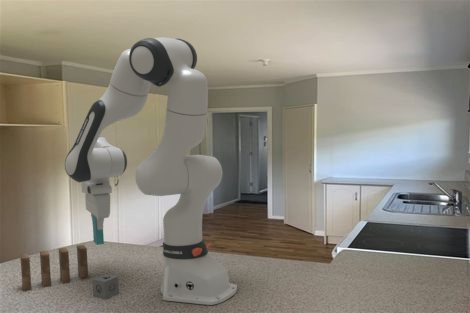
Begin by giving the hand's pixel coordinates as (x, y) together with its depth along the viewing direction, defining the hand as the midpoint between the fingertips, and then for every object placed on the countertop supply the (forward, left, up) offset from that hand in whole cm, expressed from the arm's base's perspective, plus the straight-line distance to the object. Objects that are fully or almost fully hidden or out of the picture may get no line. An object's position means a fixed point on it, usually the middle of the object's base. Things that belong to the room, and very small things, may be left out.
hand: (97, 227), depth 136 cm
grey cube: (-16, +12, -16) cm, 26 cm away
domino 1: (+11, +19, -16) cm, 27 cm away
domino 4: (+3, +5, -16) cm, 17 cm away
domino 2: (+8, +14, -16) cm, 23 cm away
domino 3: (+5, +10, -16) cm, 19 cm away
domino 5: (0, 0, -5) cm, 5 cm away
